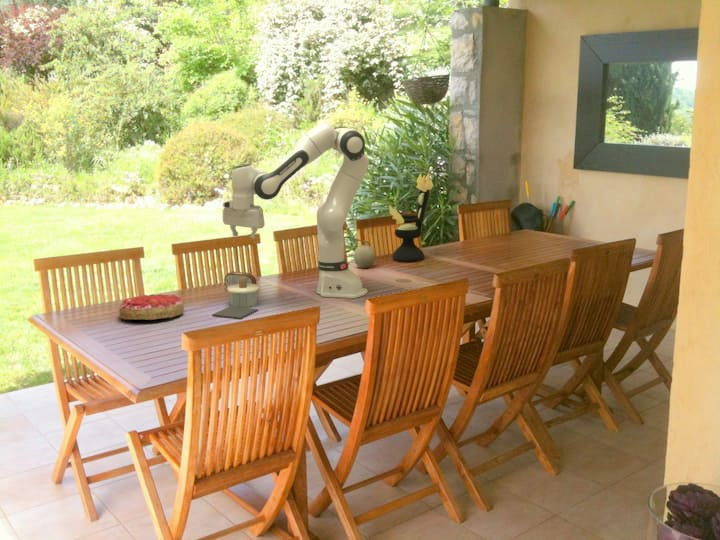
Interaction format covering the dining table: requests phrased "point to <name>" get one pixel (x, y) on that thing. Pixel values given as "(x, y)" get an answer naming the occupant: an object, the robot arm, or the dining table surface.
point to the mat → (234, 312)
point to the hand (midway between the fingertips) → (243, 237)
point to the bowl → (243, 299)
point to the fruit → (364, 255)
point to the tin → (233, 278)
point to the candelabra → (409, 231)
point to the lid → (242, 287)
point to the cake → (151, 307)
